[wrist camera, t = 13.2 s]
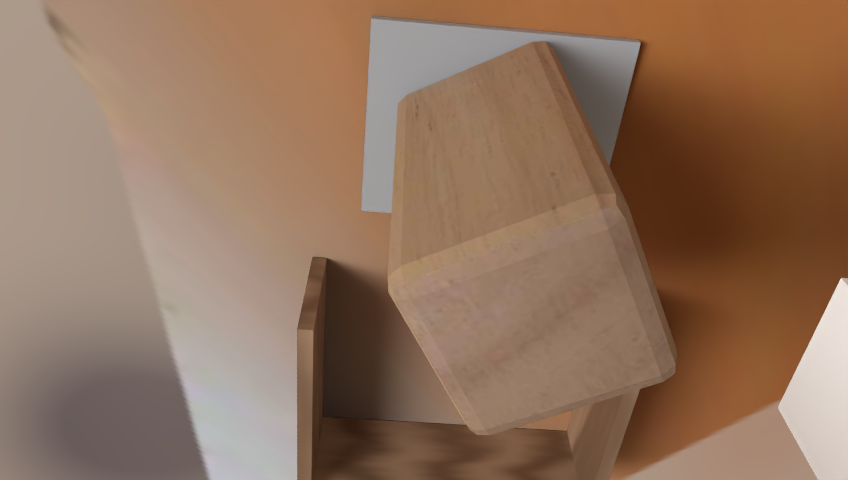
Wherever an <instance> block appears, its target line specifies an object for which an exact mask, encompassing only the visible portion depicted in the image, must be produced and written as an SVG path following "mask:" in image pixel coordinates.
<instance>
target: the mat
mask: <svg viewBox="0 0 848 480" xmlns="http://www.w3.org/2000/svg"><path fill="white" fill-rule="evenodd" d="M540 41H546V42H547V43H548V45H549V46H550V47H551V48H552V49H553V50H554V51H555V53H556V55H557V57H558V59H559V62H560V64H561V66H562V68H563V70H564V72H565V74H566V76H567V78H568V80H569V83H570V85H571V87H572V89H573V91H574V93H575V95H576V97H577V99H578V101H579V104H580V106H581V108H582V110H583V112H584V114H585V116H586V118H587V120H588V122H589V125H590V127H591V129H592V131H593V133H594V135H595V137H596V139H597V141H598V143H599V146H600V148H601V150H602V152H603V154H604V156H605V158H606V160H607V162H608V164H609V166H610V162H611V158H612V155H613V151H614V147H615V143H616V139H617V135H618V131H619V127H620V123H621V119H622V115H623V111H624V107H625V103H626V99H627V96H628V92H629V88H630V84H631V80H632V76H633V72H634V68H635V64H636V60H637V56H638V52H639V48H640V44H641V42H640V41H639V40H638V39H626V38H615V37H604V36H593V35H582V34H571V33H559V32H548V31H537V30H526V29H515V28H504V27H492V26H481V25H470V24H459V23H448V22H437V21H425V20H414V19H403V18H392V17H381V16H372V18H371V34H370V53H369V72H368V91H367V110H366V129H365V148H364V167H363V186H362V205H361V211H372V212H385V213H391V211H392V194H393V177H394V160H395V143H396V126H397V109H398V103H399V102H400V101H401V100H402V99H403V98H404V97H405V96H406V95H408V94H410V93H412V92H415V91H417V90H419V89H422V88H424V87H426V86H429V85H431V84H434V83H436V82H438V81H441V80H443V79H445V78H448V77H450V76H452V75H455V74H457V73H459V72H462V71H464V70H467V69H469V68H471V67H474V66H476V65H478V64H481V63H483V62H485V61H488V60H490V59H493V58H495V57H497V56H500V55H502V54H504V53H507V52H509V51H511V50H514V49H516V48H518V47H521V46H523V45H526V44H528V43H530V42H540Z"/></svg>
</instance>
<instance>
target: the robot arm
mask: <svg viewBox="0 0 848 480" xmlns="http://www.w3.org/2000/svg"><path fill="white" fill-rule="evenodd" d="M778 409H779V411H780V412H781V414H782V416H783V417H784V420H785V421H786V423H787V425H788V427H789V428H790V430H791V432H792V434H793V436H794V438H795V439H796V441H797V443H798V445H799V446H800V448H801V450H802V452H803V454H804V455H805V457H806V459H807V461H808V462H809V464H810V466H811V468H812V470H813V471H814V473H815V475H816V477H817V479H818V480H848V278H841V279H840V281H839V283H838V285H837V287H836V290H835V292H834V294H833V296H832V298H831V300H830V302H829V304H828V306H827V308H826V310H825V312H824V314H823V316H822V318H821V320H820V322H819V324H818V326H817V328H816V330H815V333H814V335H813V337H812V339H811V341H810V343H809V345H808V347H807V349H806V351H805V353H804V355H803V357H802V359H801V361H800V363H799V365H798V367H797V369H796V371H795V373H794V375H793V378H792V380H791V382H790V384H789V386H788V388H787V390H786V392H785V394H784V396H783V398H782V400H781V402H780V404H779V406H778Z"/></svg>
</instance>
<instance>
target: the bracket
mask: <svg viewBox="0 0 848 480" xmlns="http://www.w3.org/2000/svg"><path fill="white" fill-rule="evenodd" d="M326 264H327V258H318V257H313V258H312V262H311V267H310V272H309V276H308V281H307V286H306V290H305V295H304V300H303V304H302V309H301V314H300V319H299V323H298V328H297V480H609V479H610V476H611V473H612V470H613V467H614V464H615V461H616V458H617V455H618V452H619V449H620V447H621V444H622V441H623V438H624V435H625V432H626V429H627V426H628V423H629V420H630V417H631V414H632V411H633V409H634V406H635V403H636V400H637V397H638V394H639V391H640V389H638V390H635V391H632V392H629V393H625V394H622V395H619V396H616V397H612V398H609V399H606V400H603V401H599V402H596V403H593V404H590V405H586V406H583V407H580V408H577V409H573V412H572V415H571V419H570V422H569V426H568V429H567V431H554V430H537V429H520V428H512V429H508V430H505V431H502V432H498V433H495V434H492V435H477V434H475V433H474V432H472V431H471V430H470V429H469V428H468V426H467V425H453V424H436V423H419V422H402V421H385V420H369V419H352V418H335V417H323V388H324V347H325V305H326Z"/></svg>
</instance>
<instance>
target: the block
mask: <svg viewBox="0 0 848 480" xmlns="http://www.w3.org/2000/svg"><path fill="white" fill-rule="evenodd" d="M388 292H389V294H390V296H391V298H392V299H393V301H394V303H395V305H396V306H397V308H398V310H399V311H400V313H401V315H402V316H403V318H404V320H405V322H406V323H407V325H408V327H409V328H410V330H411V332H412V334H413V335H414V337H415V339H416V340H417V342H418V344H419V346H420V347H421V349H422V351H423V352H424V354H425V356H426V357H427V359H428V361H429V363H430V364H431V366H432V368H433V369H434V371H435V373H436V375H437V376H438V378H439V380H440V381H441V383H442V385H443V387H444V388H445V390H446V392H447V393H448V395H449V397H450V398H451V400H452V402H453V404H454V405H455V407H456V409H457V410H458V412H459V414H460V416H461V417H462V419H463V421H464V422H465V423H466V425H467V426H468V428H469V429H470V430H471V431H472V432H474V433H475V434H477V435H492V434H495V433H498V432H502V431H505V430H508V429H512V428H515V427H518V426H521V425H525V424H528V423H531V422H534V421H538V420H541V419H544V418H547V417H551V416H554V415H557V414H560V413H564V412H567V411H570V410H573V409H577V408H580V407H583V406H586V405H590V404H593V403H596V402H599V401H603V400H606V399H609V398H612V397H616V396H619V395H622V394H625V393H629V392H632V391H635V390H638V389H642V388H645V387H648V386H651V385H655V384H658V383H661V382H664V381H665V380H667V379H668V378H669V377H671V376H672V375H674V374H675V368H676V360H677V353H678V352H677V349H676V346H675V343H674V340H673V337H672V334H671V331H670V328H669V325H668V322H667V319H666V316H665V313H664V310H663V307H662V304H661V302H660V299H659V296H658V293H657V290H656V287H655V284H654V281H653V278H652V275H651V272H650V269H649V266H648V263H647V260H646V257H645V254H644V251H643V248H642V245H641V242H640V239H639V236H638V233H637V230H636V227H635V224H634V222H633V219H632V216H631V213H630V210H629V207H628V204H627V202H626V200H625V198H624V196H623V194H622V192H621V190H620V188H619V185H618V183H617V181H616V179H615V177H614V175H613V173H612V171H611V169H610V167H609V164H608V162H607V160H606V158H605V156H604V154H603V152H602V150H601V148H600V146H599V143H598V141H597V139H596V137H595V135H594V133H593V131H592V129H591V127H590V125H589V122H588V120H587V118H586V116H585V114H584V112H583V110H582V108H581V106H580V104H579V101H578V99H577V97H576V95H575V93H574V91H573V89H572V87H571V85H570V83H569V80H568V78H567V76H566V74H565V72H564V70H563V68H562V66H561V64H560V62H559V59H558V57H557V55H556V53H555V51H554V50H553V49H552V48H551V47H550V46H549V45H548V43H547V42H546V41H540V42H530V43H528V44H526V45H523V46H521V47H518V48H516V49H514V50H511V51H509V52H507V53H504V54H502V55H500V56H497V57H495V58H493V59H490V60H488V61H485V62H483V63H481V64H478V65H476V66H474V67H471V68H469V69H467V70H464V71H462V72H459V73H457V74H455V75H452V76H450V77H448V78H445V79H443V80H441V81H438V82H436V83H434V84H431V85H429V86H426V87H424V88H422V89H419V90H417V91H415V92H412V93H410V94H408V95H406V96H405V97H404V98H403V99H402V100H401V101H400V102H399V103H398V109H397V126H396V143H395V160H394V177H393V194H392V211H391V228H390V245H389V262H388Z"/></svg>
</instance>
